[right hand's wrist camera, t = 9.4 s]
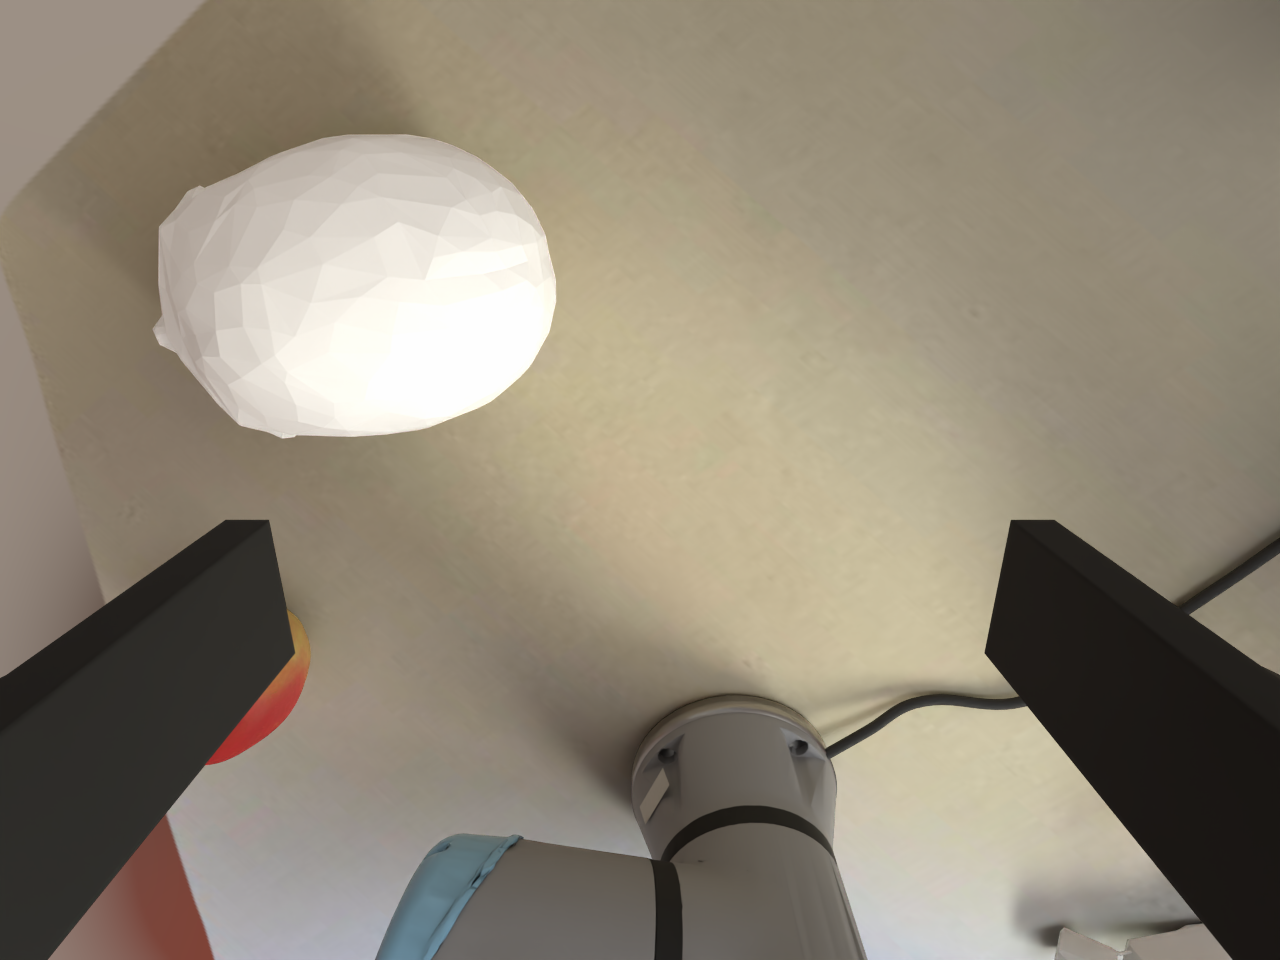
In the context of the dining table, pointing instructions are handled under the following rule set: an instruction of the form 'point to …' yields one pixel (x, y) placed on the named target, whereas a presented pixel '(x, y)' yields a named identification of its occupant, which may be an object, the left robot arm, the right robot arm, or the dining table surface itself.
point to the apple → (271, 700)
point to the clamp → (1145, 946)
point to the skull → (355, 286)
